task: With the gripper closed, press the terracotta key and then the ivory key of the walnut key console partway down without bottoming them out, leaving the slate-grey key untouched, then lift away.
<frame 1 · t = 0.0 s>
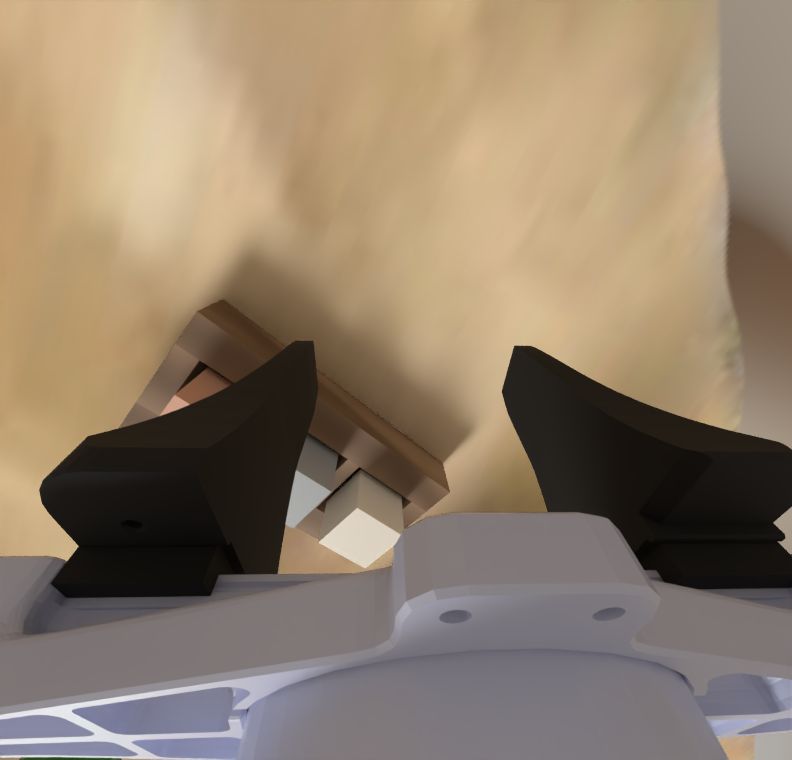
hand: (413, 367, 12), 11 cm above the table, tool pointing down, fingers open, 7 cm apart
key ivory: (362, 517, 24), point 4 cm above the table, slide at 0.0 cm
console: (305, 435, 26), on the table
key slate: (291, 474, 22), point 4 cm above the table, slide at 0.0 cm
key terracotta: (207, 423, 20), point 4 cm above the table, slide at 0.0 cm
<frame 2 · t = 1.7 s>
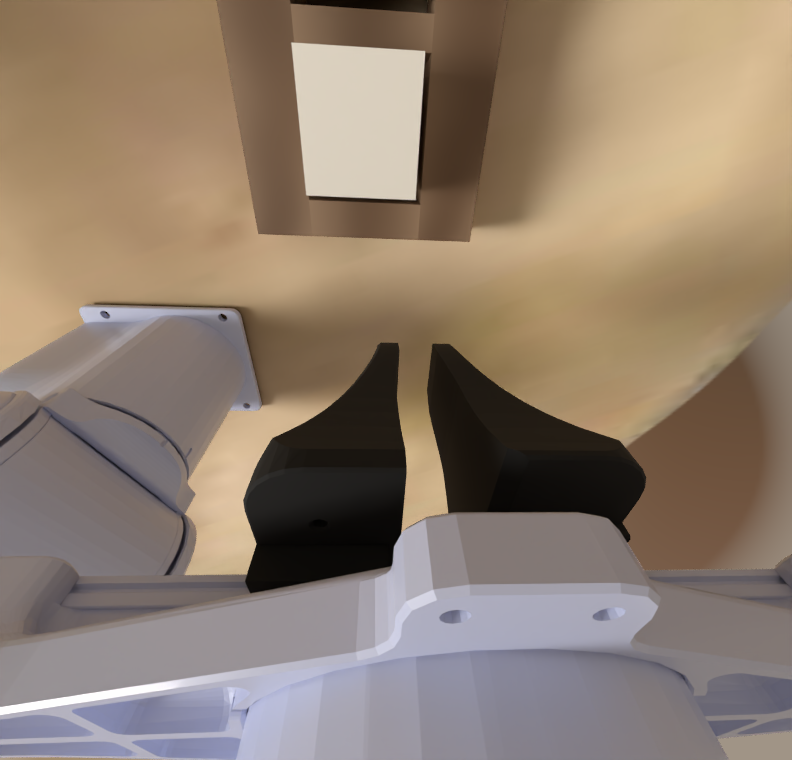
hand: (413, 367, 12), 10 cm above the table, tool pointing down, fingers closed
key ivory: (363, 132, 13), point 4 cm above the table, slide at 0.0 cm
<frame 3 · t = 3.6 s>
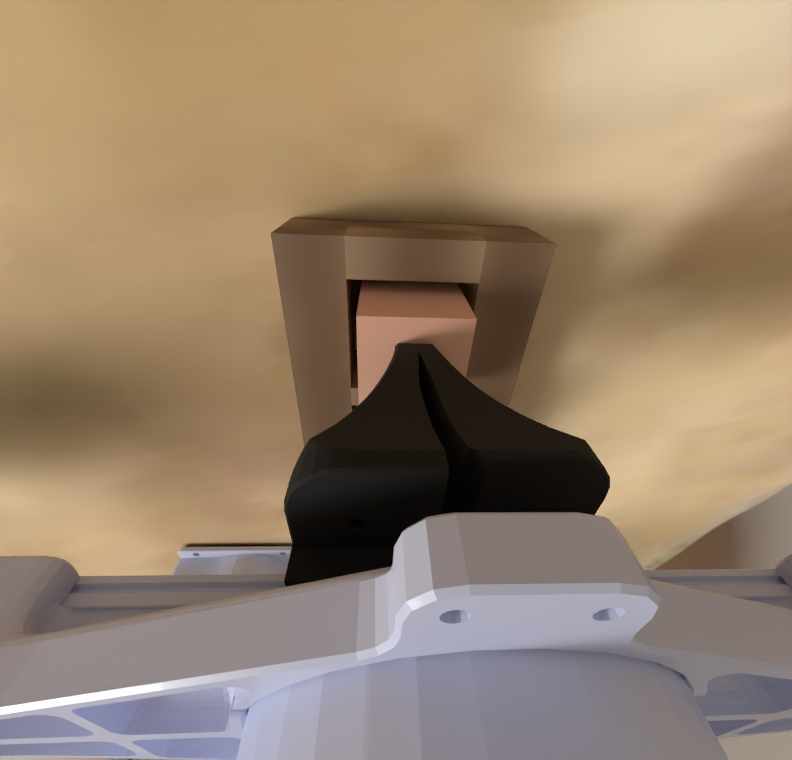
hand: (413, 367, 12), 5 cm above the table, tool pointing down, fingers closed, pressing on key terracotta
console: (399, 404, 20), on the table
key terracotta: (409, 344, 14), point 4 cm above the table, slide at 0.8 cm, touching gripper
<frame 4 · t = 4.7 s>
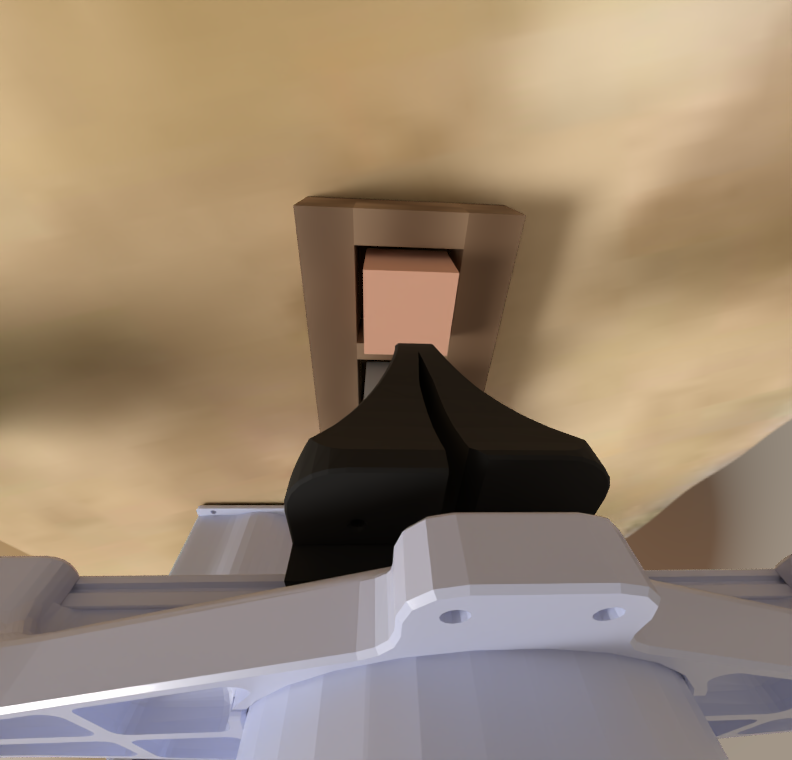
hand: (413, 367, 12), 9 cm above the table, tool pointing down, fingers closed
console: (398, 367, 23), on the table
key slate: (400, 408, 19), point 4 cm above the table, slide at 0.0 cm
key terracotta: (406, 301, 16), point 3 cm above the table, slide at 1.0 cm
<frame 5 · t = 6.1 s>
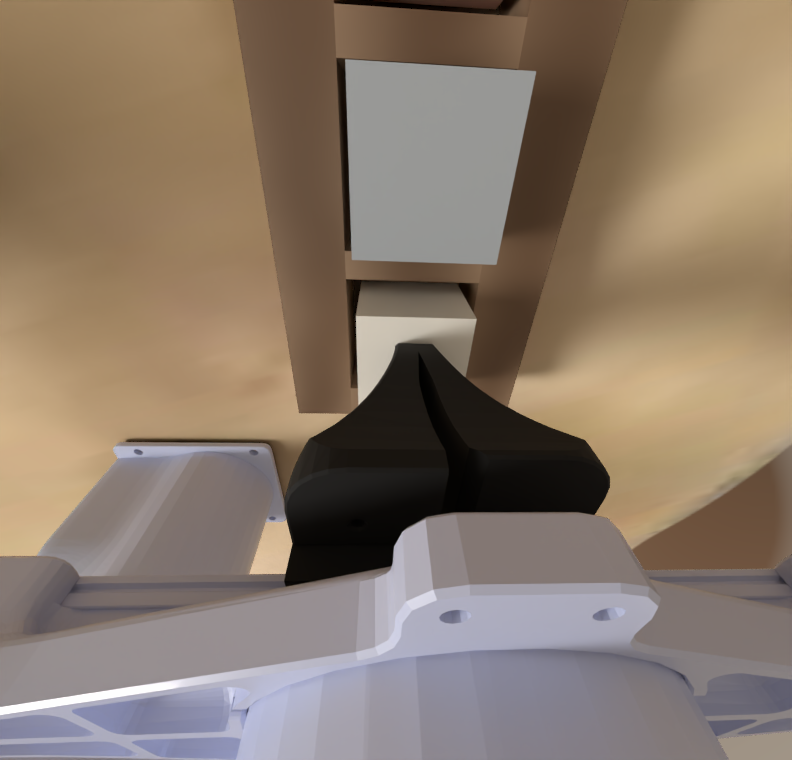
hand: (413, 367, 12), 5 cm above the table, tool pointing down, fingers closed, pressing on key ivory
key ivory: (409, 344, 14), point 4 cm above the table, slide at 0.8 cm, touching gripper
console: (413, 166, 13), on the table
key slate: (424, 173, 10), point 4 cm above the table, slide at 0.0 cm
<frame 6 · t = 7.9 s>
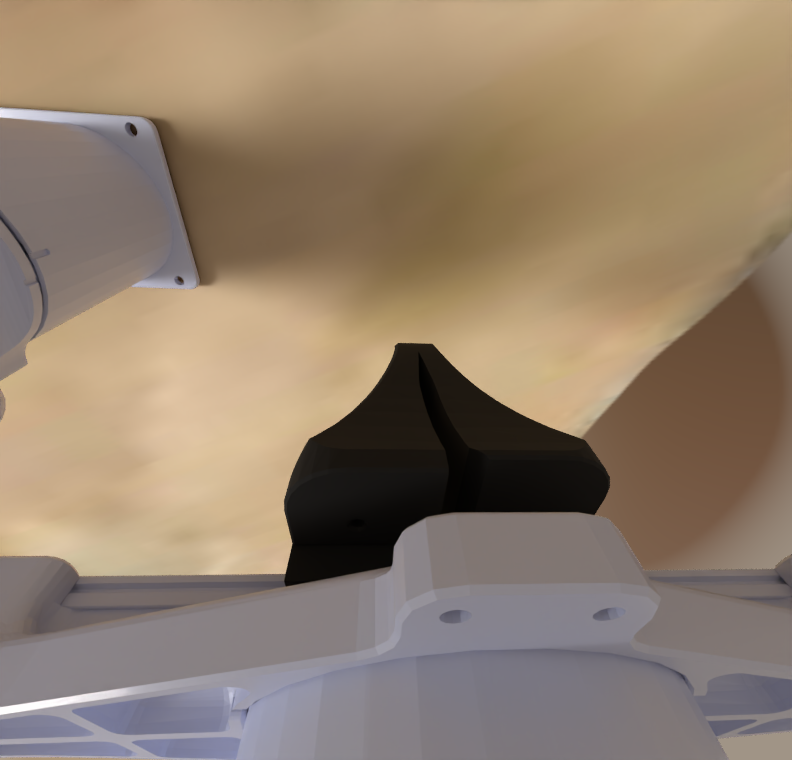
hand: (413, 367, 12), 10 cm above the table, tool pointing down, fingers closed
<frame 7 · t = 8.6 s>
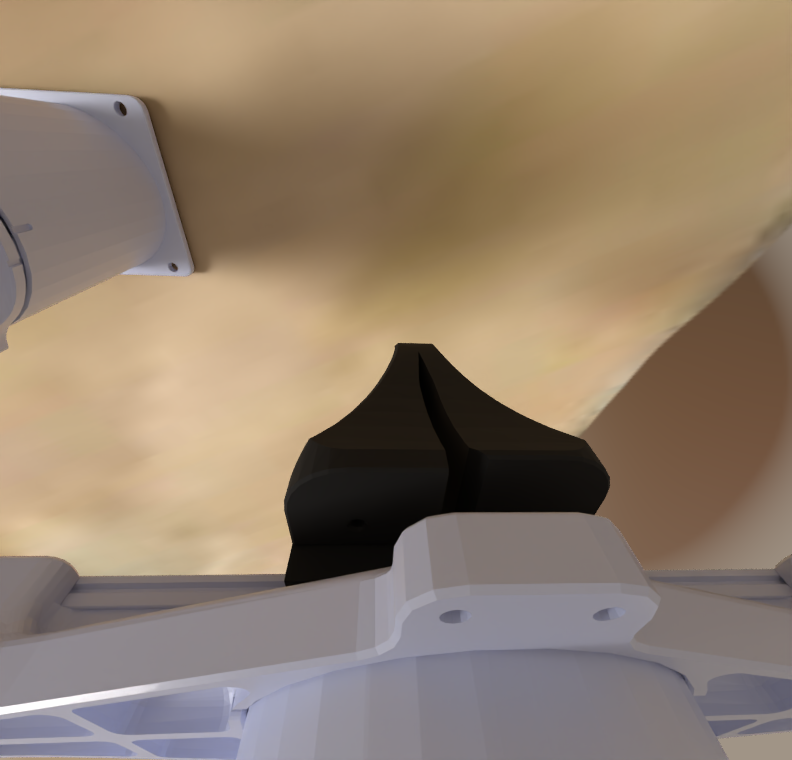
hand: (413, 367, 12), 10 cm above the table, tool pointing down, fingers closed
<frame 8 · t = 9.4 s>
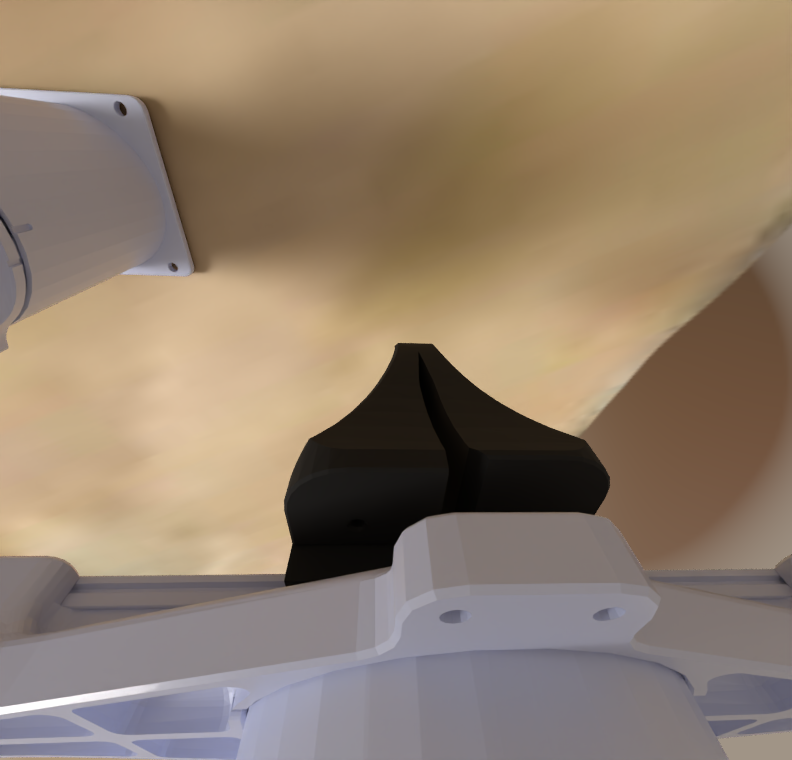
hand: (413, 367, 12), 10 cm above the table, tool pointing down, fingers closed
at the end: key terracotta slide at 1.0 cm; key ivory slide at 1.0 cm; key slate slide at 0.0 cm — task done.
